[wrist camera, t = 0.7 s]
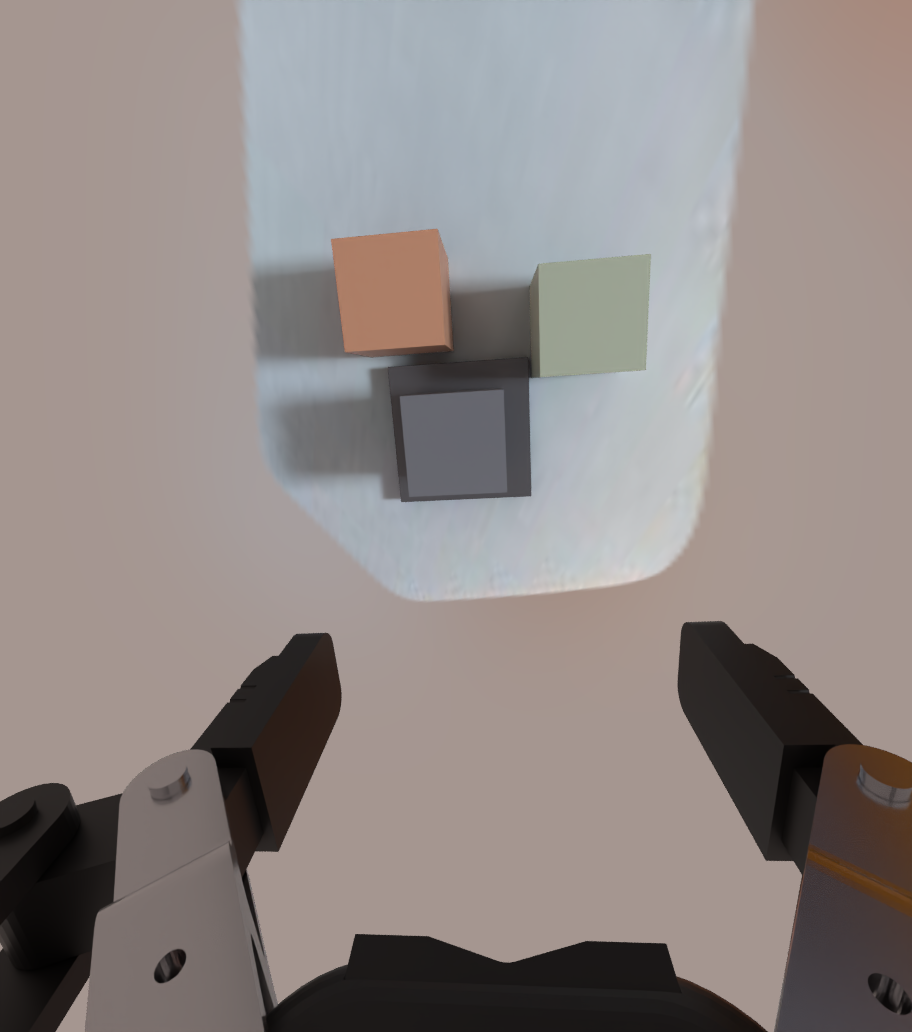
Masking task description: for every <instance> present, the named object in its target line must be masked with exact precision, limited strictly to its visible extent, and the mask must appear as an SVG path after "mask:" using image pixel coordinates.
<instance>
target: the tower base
mask: <svg viewBox="0 0 912 1032" xmlns="http://www.w3.org/2000/svg"><path fill="white" fill-rule="evenodd" d="M388 374H389V384H390V394H391V404H392V414H393V424H394V434H395V444H396V454H397V464H398V474H399V484H400V494H401V502H413V501H435V500H457V499H479V498H501V497H523V496H531V463H530V417H529V372H528V357H525V358H511V359H497V360H483V361H469V362H455V363H441V364H427V365H413V366H399V367H388Z"/></svg>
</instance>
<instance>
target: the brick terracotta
mask: <svg viewBox="0 0 912 1032" xmlns="http://www.w3.org/2000/svg"><path fill="white" fill-rule="evenodd" d="M331 242H332V250H333V259H334V267H335V275H336V283H337V291H338V299H339V308H340V316H341V324H342V332H343V340H344V348H345V352H347V353H352V354H357V355H362V356H367V357H382V356H396V355H410V354H423V353H437V352H450V351H454V348H453V332H452V316H451V300H450V284H449V268H448V257H447V254H446V252H445V249H444V246H443V243H442V240H441V238H440V235H439V232H438V229H430V230H420V231H410V232H399V233H389V234H379V235H368V236H358V237H347V238H337V239H331Z"/></svg>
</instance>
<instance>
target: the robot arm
mask: <svg viewBox="0 0 912 1032" xmlns="http://www.w3.org/2000/svg"><path fill="white" fill-rule="evenodd" d="M678 693H679V699H680V703H681V706H682V709H683V712H684V713H685V715H686V717H687V719H688V721H689V723H690V724H691V726H692V728H693V730H694V732H695V733H696V735H697V737H698V739H699V740H700V742H701V744H702V746H703V748H704V750H705V751H706V753H707V755H708V757H709V759H710V760H711V762H712V764H713V765H714V768H715V769H716V771H717V773H718V775H719V777H720V778H721V780H722V782H723V784H724V786H725V788H726V789H727V791H728V793H729V795H730V797H731V798H732V800H733V802H734V803H735V806H736V807H737V809H738V811H739V813H740V815H741V816H742V818H743V820H744V822H745V823H746V825H747V827H748V829H749V831H750V833H751V834H752V836H753V838H754V840H755V842H756V843H757V845H758V847H759V849H760V851H761V852H762V854H763V856H764V858H765V860H767V861H768V860H769V861H794V862H795V864H796V866H797V867H798V869H799V870H800V872H801V874H802V879H801V884H800V890H799V895H798V901H797V907H796V912H795V918H794V923H793V929H792V935H791V941H790V947H789V951H788V957H787V962H786V968H785V974H784V980H783V985H782V990H781V996H780V1001H779V1007H778V1013H777V1018H776V1024H775V1029H774V1032H912V762H910V761H908V760H906V759H904V758H902V757H900V756H897V755H895V754H892V753H890V752H887V751H884V750H881V749H878V748H874V747H870V746H865V745H863V744H862V743H861V742H860V741H859V740H858V739H857V738H856V737H855V736H854V735H853V734H852V733H851V732H850V731H849V730H848V729H847V728H846V727H845V726H844V725H843V724H842V723H841V722H840V721H839V720H838V719H837V718H836V717H835V716H834V715H833V714H832V713H831V712H830V711H829V710H828V709H827V708H826V707H825V706H824V705H823V704H822V703H821V702H820V701H819V700H818V699H817V698H816V697H815V696H814V694H810V693H809V689H808V688H807V687H806V686H805V685H804V684H803V683H801V681H800V680H799V679H795V676H794V674H793V673H792V672H791V671H790V670H789V669H788V668H787V667H786V666H785V665H784V664H783V663H782V662H781V661H780V660H779V659H778V658H777V657H775V656H773V655H772V654H770V653H768V652H766V651H765V650H763V649H761V648H759V647H758V646H756V645H754V644H744V643H743V642H742V641H741V640H740V639H739V638H738V637H737V635H736V634H735V633H734V632H733V631H732V630H731V629H730V628H729V627H728V626H727V625H726V624H725V623H724V622H722V621H713V622H711V621H710V622H686V623H684V624H683V627H682V630H681V641H680V655H679V670H678ZM340 707H341V685H340V680H339V674H338V669H337V663H336V658H335V652H334V647H333V642H332V638H331V636H330V635H329V634H328V633H311V634H310V633H309V634H296V635H294V636H293V637H292V639H291V640H290V641H289V643H288V644H287V645H286V647H285V648H284V650H283V651H282V652H281V654H280V655H279V656H272V657H270V658H269V659H268V660H266V661H265V662H264V663H262V664H261V665H259V666H258V667H257V668H255V669H254V670H253V671H252V672H251V673H250V675H249V676H248V677H247V678H246V680H245V681H244V682H243V684H242V685H241V688H240V689H238V690H237V691H236V692H235V694H234V695H233V696H232V697H231V699H230V703H227V704H226V705H225V706H224V707H223V709H222V710H221V711H220V712H219V714H218V715H217V716H216V718H215V719H214V720H213V721H212V723H211V724H210V725H209V726H208V728H207V729H206V730H205V731H204V733H203V734H202V735H201V737H200V738H199V739H198V740H197V742H196V743H195V744H194V746H193V747H192V748H191V749H190V750H186V751H181V752H177V753H174V754H171V755H169V756H166V757H164V758H162V759H160V760H158V761H157V762H155V763H153V764H151V765H150V766H148V767H147V768H145V769H144V770H143V771H142V772H140V773H139V774H138V775H137V776H136V777H135V778H134V779H133V780H132V781H131V782H130V784H129V785H128V786H127V787H126V789H125V790H124V792H123V793H122V794H118V795H115V796H111V797H107V798H103V799H99V800H95V801H92V802H87V803H84V804H80V805H75V802H74V800H73V797H72V795H71V793H70V790H69V789H68V787H67V786H65V785H63V784H59V783H49V784H42V785H38V786H34V787H31V788H28V789H25V790H23V791H21V792H18V793H16V794H14V795H12V796H10V797H8V798H6V799H4V800H2V801H1V802H0V943H1V945H2V947H3V949H2V950H1V952H0V1032H55V1031H56V1030H57V1028H58V1026H59V1025H60V1023H61V1021H62V1020H63V1018H64V1017H65V1015H66V1014H67V1012H68V1010H69V1009H70V1007H71V1006H72V1004H73V1002H74V1001H75V999H76V997H77V996H78V994H79V993H80V991H81V989H82V988H83V986H84V984H85V983H86V981H87V980H88V978H89V976H90V981H89V991H88V1002H87V1013H86V1024H85V1032H767V1031H766V1030H765V1029H764V1028H763V1027H761V1025H759V1024H758V1023H757V1022H756V1021H754V1020H753V1019H752V1018H751V1017H749V1016H748V1015H746V1014H745V1013H744V1012H742V1011H741V1010H739V1009H738V1008H737V1007H736V1006H734V1005H733V1004H731V1003H729V1002H728V1001H726V1000H725V999H723V998H721V997H720V996H718V995H716V994H715V993H713V992H711V991H709V990H707V989H705V988H703V987H701V986H699V985H697V984H695V983H693V982H691V981H688V980H685V979H682V978H680V977H677V976H676V974H675V971H674V968H673V964H672V961H671V958H670V955H669V951H668V948H667V945H666V944H663V943H628V942H597V941H585V942H582V943H578V944H575V945H571V946H568V947H564V948H561V949H557V950H554V951H550V952H547V953H544V954H540V955H537V956H533V957H530V958H526V959H523V960H520V961H516V962H511V963H503V962H499V961H496V960H493V959H490V958H488V957H485V956H482V955H479V954H476V953H473V952H471V951H468V950H465V949H462V948H460V947H457V946H454V945H451V944H448V943H446V942H443V941H440V940H437V939H434V938H431V937H429V936H401V935H400V936H399V935H368V934H366V935H365V934H355V938H354V942H353V946H352V950H351V954H350V959H349V963H348V965H345V966H342V967H338V968H336V969H334V970H332V971H329V972H327V973H325V974H322V975H320V976H318V977H317V978H315V979H313V980H312V981H310V982H308V983H307V984H305V985H303V986H301V987H300V988H299V989H297V990H296V991H295V992H293V993H292V994H291V995H289V996H288V997H287V998H285V999H284V1000H283V1001H282V1002H280V1003H279V1004H278V1002H277V999H276V994H275V991H274V987H273V983H272V978H271V974H270V970H269V965H268V961H267V956H266V952H265V947H264V943H263V938H262V934H261V929H260V924H259V920H258V915H257V911H256V906H255V902H254V897H253V893H252V888H251V884H250V879H249V875H248V872H247V867H248V865H249V863H250V861H251V858H252V856H253V854H254V852H255V851H273V852H278V851H279V849H280V847H281V845H282V842H283V840H284V838H285V835H286V833H287V831H288V829H289V827H290V824H291V822H292V820H293V817H294V815H295V813H296V811H297V809H298V806H299V804H300V802H301V799H302V797H303V795H304V793H305V790H306V788H307V786H308V783H309V781H310V779H311V777H312V775H313V772H314V770H315V768H316V766H317V763H318V761H319V759H320V756H321V754H322V752H323V750H324V748H325V745H326V743H327V740H328V738H329V736H330V734H331V732H332V729H333V727H334V725H335V723H336V720H337V718H338V716H339V712H340Z"/></svg>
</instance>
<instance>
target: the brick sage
mask: <svg viewBox="0 0 912 1032" xmlns="http://www.w3.org/2000/svg"><path fill="white" fill-rule="evenodd" d="M650 262H651V254H645V255H634V256H622V257H611V258H600V259H588V260H577V261H566V262H554V263H543V264H538V266H537V269H536V271H535V274H534V276H533V279H532V281H531V284H530V286H529V290H530V340H531V378H536V377H551V376H566V375H580V374H595V373H610V372H625V371H640V370H646V354H647V331H648V308H649V285H650Z"/></svg>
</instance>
